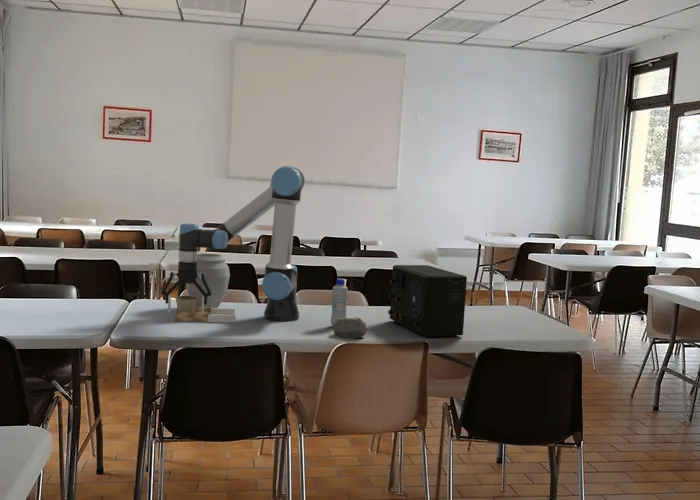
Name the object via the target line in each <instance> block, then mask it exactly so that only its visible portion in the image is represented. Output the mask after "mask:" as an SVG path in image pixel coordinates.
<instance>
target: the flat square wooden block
mask: <svg viewBox="0 0 700 500" xmlns="http://www.w3.org/2000/svg"><path fill="white" fill-rule="evenodd" d="M208 315H211V307H204V313H202V307H195V312H178V308H177V307H176V311H175V315H174V317H175V318H174V321H175V322H187V321H201V322H202V323H204V322H205V323H209V322H208ZM201 322H200V323H201Z"/></svg>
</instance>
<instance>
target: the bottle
mask: <svg viewBox="0 0 700 500" xmlns="http://www.w3.org/2000/svg"><path fill="white" fill-rule="evenodd" d="M335 283H336V284H335V285H334V286H333V287H332V292H331V299H332V302H331V303H332V304H331V305H332V306H331V316H330V323H331V326H332V328H334V326H335V323H336V321H337V320H338V319H342V318H347V305H348V303H347V302H348V298H349V297H348V296H349V290H348V286H346V285H345V280H344V279H343V278H337V279H336V282H335Z"/></svg>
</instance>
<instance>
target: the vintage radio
mask: <svg viewBox="0 0 700 500" xmlns="http://www.w3.org/2000/svg"><path fill="white" fill-rule="evenodd" d="M391 274H392V275H391V279H389V283H390V284H391V288H390V289H391V290H390V291H391V292H390V294H388V299H390V307H389V309H388V310H387V314H388V315H389V319H390V320H392V321H393V323H395V324H397V323H398V324H400V325H402V326H404V327H406V328H408V329H410V330H412V331H414V332H416V333H418V334H420V335H423V338H426V339H429V338H431V337H449V336H450V337H451V336H452V337H453V338H455V337H456V338H457V336H463V335H464V325H465V313H466V312H465V311H466V296H467V295H466V294H467V281H468V276H466V275H463V274H460V273H456V272H452V271H449V270H445V269H443V268H439V267H435V266H433V265H432V266H431V265H428V264H425V265H424V264H422V265H421V264H409V265H408V264H397V265H396V264H394V265H393V266H392V273H391Z"/></svg>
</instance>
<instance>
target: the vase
mask: <svg viewBox="0 0 700 500" xmlns="http://www.w3.org/2000/svg"><path fill="white" fill-rule="evenodd" d="M196 262H197V274H201V273H204V277H205V280H206V282H207V284H208V286H209V289H210V291H211V293H212V294H211V296H208V297H207V304H206V305H204V307H211V308H219V306H220V305H221V304H222V302H223V300H224V299H225V295H226V293H227V292H228V291H227V290H228V287H229V282H230V277H231V274H230V273H231V272H230V267H229V266H228V264H227V263H226V258H224V257H223V256H222V255H221V254H216V253H197V261H196ZM195 280H196V281H197V282H198V284H199V285H200V286H201V287H202V289H203V290H204V291H205V292H206V293H208V292H207V290H206V288H205V286H204V284H203V282H202V279H200V278H199V276H198V277H197V278H196V279H195ZM185 284H186V288H187V292H188V294H189V295H188V296H195V297H198V299H197V302H196V307H202V296H203V294H202V293H201V292H200V291H199V289H198V288H197V287H196V286H195V285H194V284H193V283H191V284H188V283H185Z"/></svg>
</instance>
